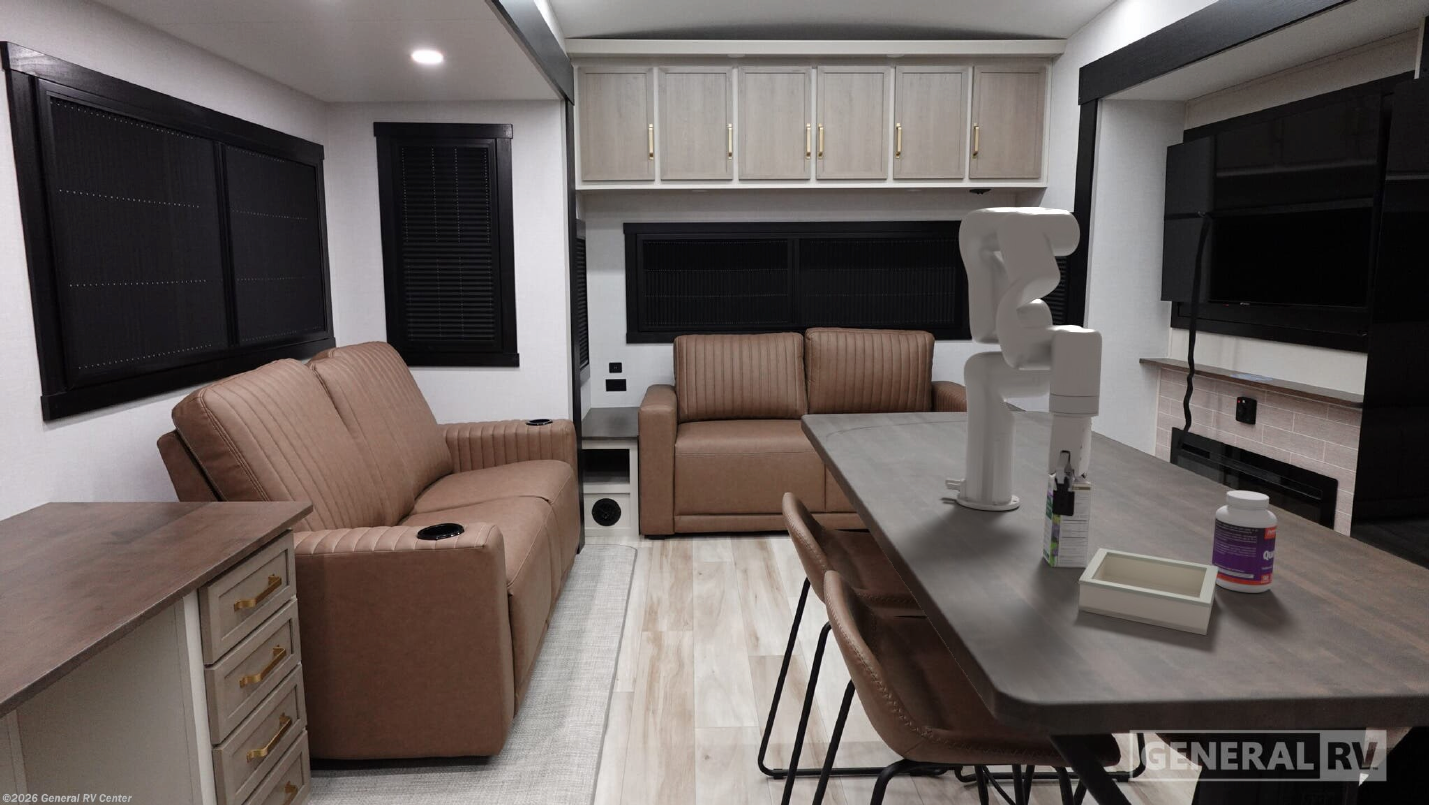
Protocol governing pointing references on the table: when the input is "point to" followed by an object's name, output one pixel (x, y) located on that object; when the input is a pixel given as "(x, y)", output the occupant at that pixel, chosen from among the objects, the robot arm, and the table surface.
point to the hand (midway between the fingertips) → (1069, 508)
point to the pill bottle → (1244, 542)
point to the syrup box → (1068, 528)
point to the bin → (1149, 590)
